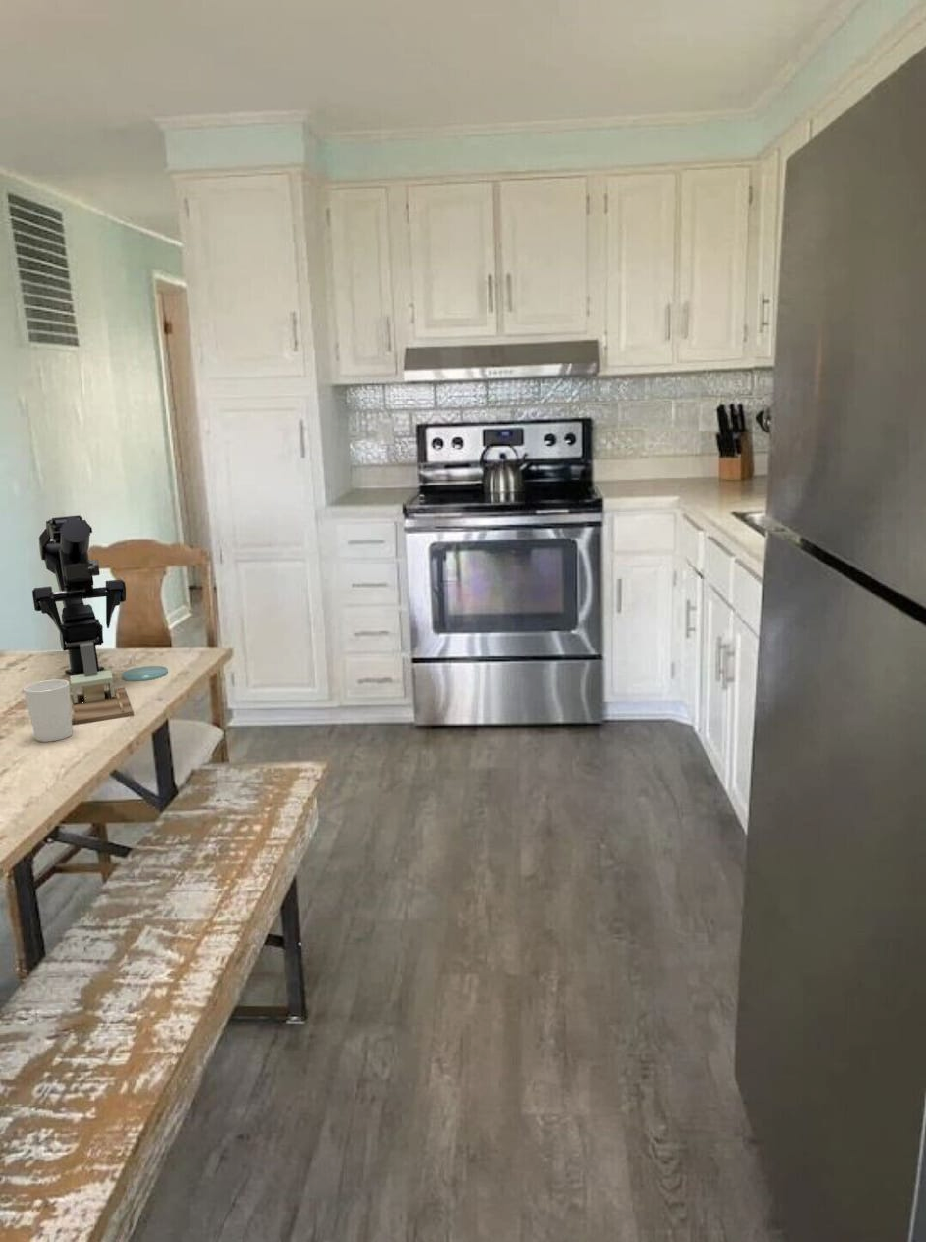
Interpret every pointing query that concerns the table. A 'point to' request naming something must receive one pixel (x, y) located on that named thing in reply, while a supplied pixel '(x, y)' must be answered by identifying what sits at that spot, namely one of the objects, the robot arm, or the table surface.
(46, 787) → the table surface
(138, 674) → the teal saucer
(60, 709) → the white cup
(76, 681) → the sliding cover
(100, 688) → the block
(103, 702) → the puzzle board
